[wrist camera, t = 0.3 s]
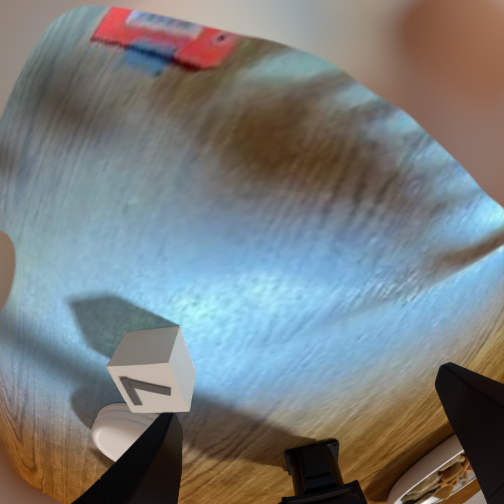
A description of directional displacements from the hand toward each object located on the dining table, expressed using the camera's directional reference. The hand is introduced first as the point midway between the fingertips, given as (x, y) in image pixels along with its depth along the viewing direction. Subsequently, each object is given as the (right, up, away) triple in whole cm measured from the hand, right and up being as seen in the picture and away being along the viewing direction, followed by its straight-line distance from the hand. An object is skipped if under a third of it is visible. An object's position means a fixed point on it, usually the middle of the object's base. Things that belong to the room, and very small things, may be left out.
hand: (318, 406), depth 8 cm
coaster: (-15, -15, +19) cm, 29 cm away
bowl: (+36, -35, +28) cm, 58 cm away
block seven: (-10, -4, +16) cm, 19 cm away
